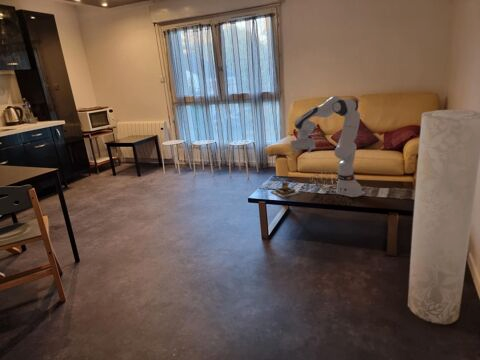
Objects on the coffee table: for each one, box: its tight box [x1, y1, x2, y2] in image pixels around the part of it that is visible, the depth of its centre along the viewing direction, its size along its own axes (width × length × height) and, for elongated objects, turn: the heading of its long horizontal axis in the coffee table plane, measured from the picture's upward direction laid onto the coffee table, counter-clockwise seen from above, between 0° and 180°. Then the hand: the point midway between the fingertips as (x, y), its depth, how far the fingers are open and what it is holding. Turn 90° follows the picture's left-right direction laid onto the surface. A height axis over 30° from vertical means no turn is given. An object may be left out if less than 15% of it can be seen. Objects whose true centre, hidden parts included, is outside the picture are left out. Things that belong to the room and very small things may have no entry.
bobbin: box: [281, 181, 289, 192], centre depth 272 cm, size 6×6×8 cm
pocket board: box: [270, 186, 301, 199], centre depth 273 cm, size 17×17×3 cm
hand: (303, 152), depth 279 cm, fingers open, 8 cm apart
